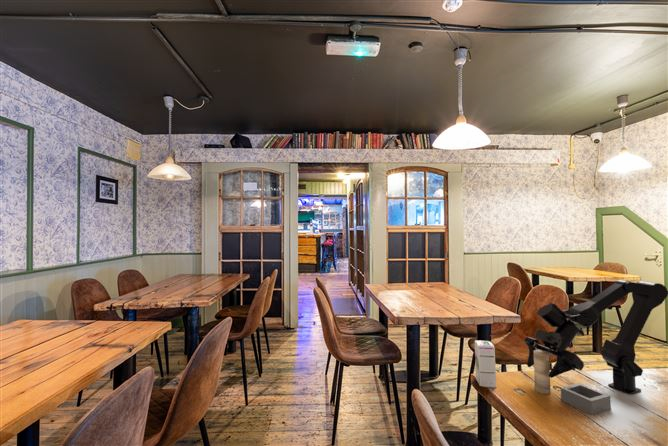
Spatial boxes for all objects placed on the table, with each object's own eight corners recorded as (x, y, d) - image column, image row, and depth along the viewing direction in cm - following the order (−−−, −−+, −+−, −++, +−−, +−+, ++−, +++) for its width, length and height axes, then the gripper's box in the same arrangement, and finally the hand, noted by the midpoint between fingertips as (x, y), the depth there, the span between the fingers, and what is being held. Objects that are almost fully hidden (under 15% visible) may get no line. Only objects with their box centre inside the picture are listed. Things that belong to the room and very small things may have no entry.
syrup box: (497, 388, 109) (495, 346, 110) (478, 386, 110) (477, 344, 111) (492, 380, 115) (491, 340, 116) (475, 379, 116) (474, 339, 117)
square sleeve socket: (579, 395, 104) (579, 383, 104) (610, 409, 96) (610, 395, 96) (561, 400, 101) (560, 387, 101) (591, 414, 92) (591, 401, 93)
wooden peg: (540, 386, 110) (539, 349, 111) (553, 392, 106) (552, 353, 106) (531, 388, 108) (530, 351, 109) (544, 395, 104) (543, 355, 105)
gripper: (526, 314, 118) (503, 346, 115) (575, 328, 100) (549, 367, 97) (544, 334, 120) (521, 366, 117) (595, 351, 102) (570, 390, 99)
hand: (538, 371), depth 107 cm, fingers open, 8 cm apart
